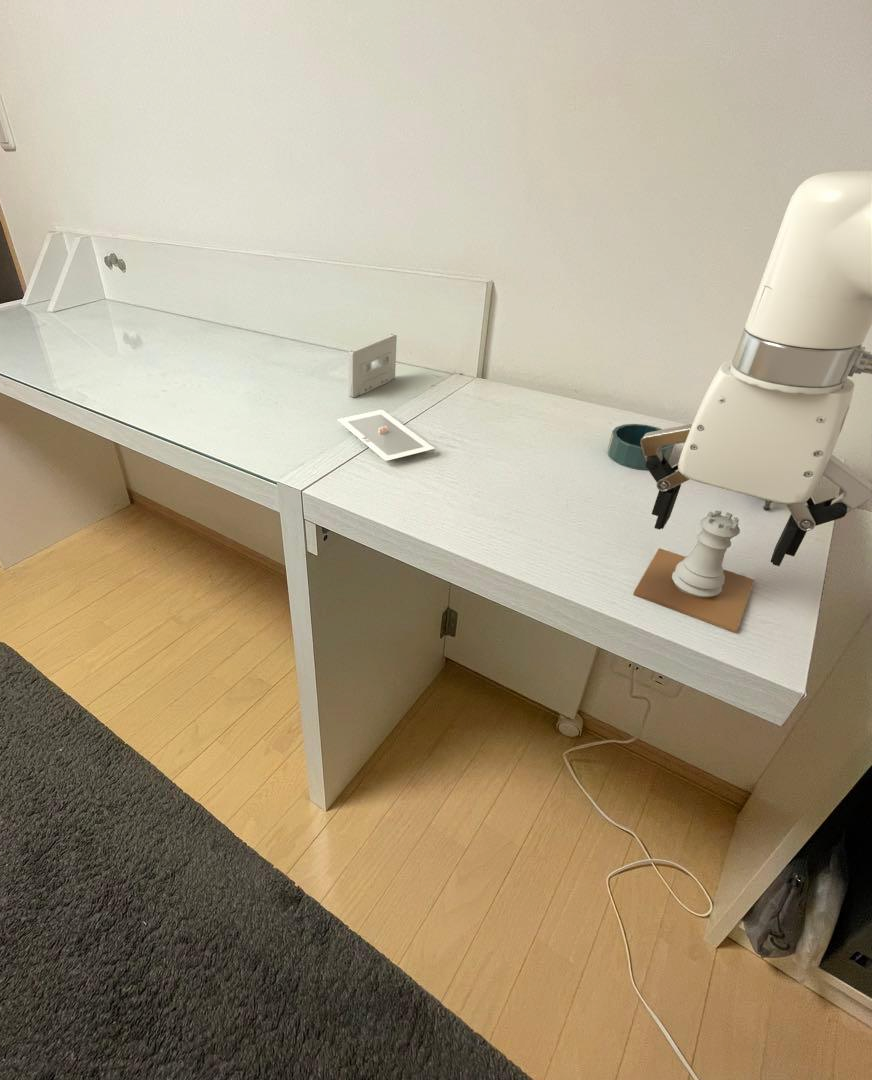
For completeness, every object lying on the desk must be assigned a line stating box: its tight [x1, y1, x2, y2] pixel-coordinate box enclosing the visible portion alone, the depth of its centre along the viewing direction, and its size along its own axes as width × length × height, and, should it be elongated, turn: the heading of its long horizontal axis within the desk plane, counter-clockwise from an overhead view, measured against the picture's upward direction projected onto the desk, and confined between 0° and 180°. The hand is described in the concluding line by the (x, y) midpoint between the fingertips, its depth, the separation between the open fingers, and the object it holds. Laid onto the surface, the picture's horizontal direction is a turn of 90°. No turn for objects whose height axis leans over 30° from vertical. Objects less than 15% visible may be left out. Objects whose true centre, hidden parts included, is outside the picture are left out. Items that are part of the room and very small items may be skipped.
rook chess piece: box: [672, 510, 741, 598], centre depth 58 cm, size 4×4×8 cm
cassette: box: [348, 333, 398, 398], centre depth 103 cm, size 12×2×8 cm, turn 139°
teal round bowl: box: [606, 423, 677, 471], centre depth 82 cm, size 8×8×3 cm
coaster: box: [632, 547, 755, 634], centre depth 60 cm, size 9×9×1 cm
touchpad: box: [336, 409, 436, 462], centre depth 88 cm, size 8×15×2 cm, turn 25°
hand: (716, 539), depth 57 cm, fingers open, 9 cm apart
